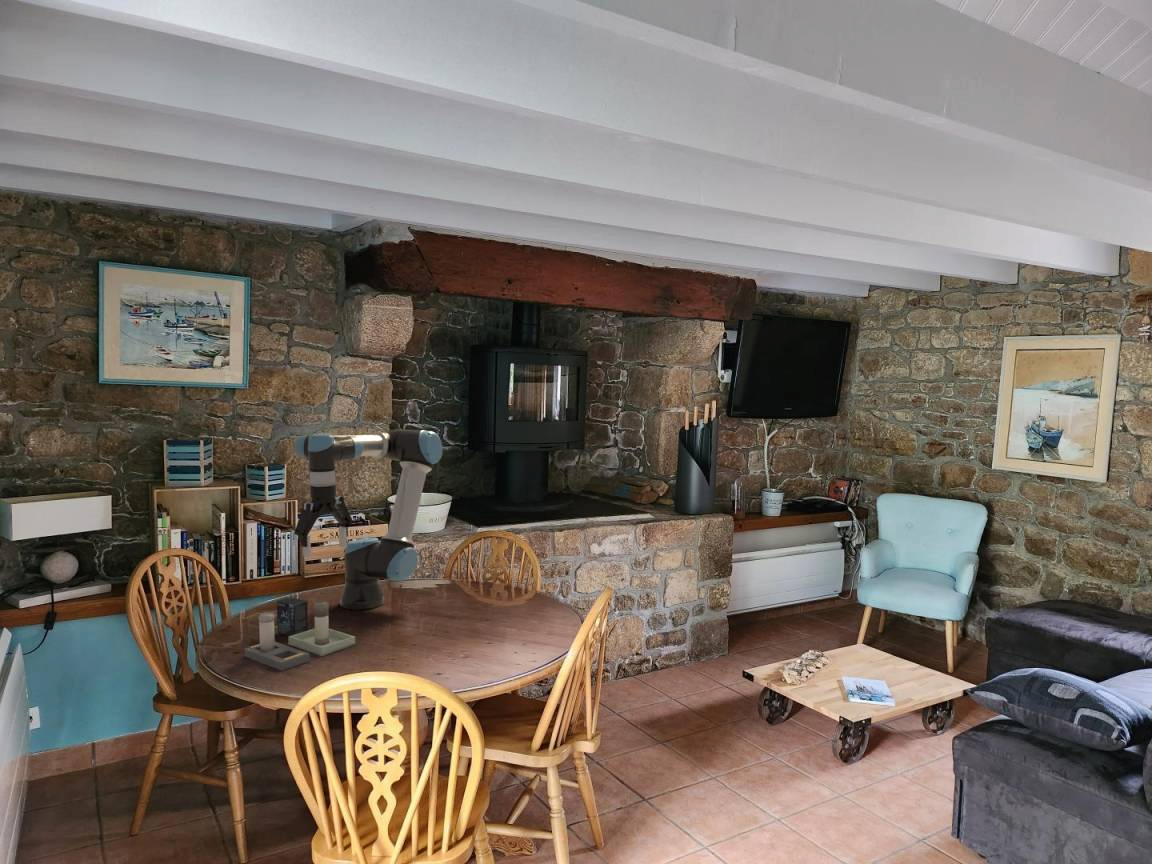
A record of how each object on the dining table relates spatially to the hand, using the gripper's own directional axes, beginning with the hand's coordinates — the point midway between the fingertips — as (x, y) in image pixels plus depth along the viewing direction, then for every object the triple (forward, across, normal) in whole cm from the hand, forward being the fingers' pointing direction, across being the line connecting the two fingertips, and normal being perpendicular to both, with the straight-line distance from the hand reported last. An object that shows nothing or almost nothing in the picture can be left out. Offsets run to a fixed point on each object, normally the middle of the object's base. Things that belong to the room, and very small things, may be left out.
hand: (325, 551), depth 240 cm
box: (+27, +5, -11) cm, 29 cm away
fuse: (+26, +22, 0) cm, 34 cm away
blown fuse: (+26, +7, +5) cm, 27 cm away
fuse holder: (+26, +22, +4) cm, 34 cm away
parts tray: (+26, +7, +5) cm, 28 cm away
